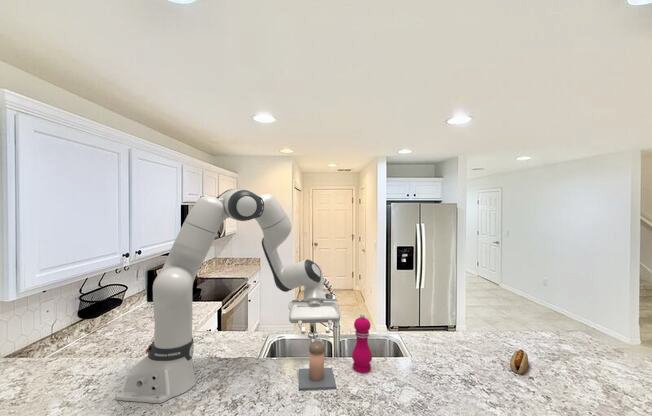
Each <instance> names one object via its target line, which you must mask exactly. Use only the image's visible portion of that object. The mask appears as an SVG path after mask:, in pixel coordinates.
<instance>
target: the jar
mask: <svg viewBox="0 0 652 416" xmlns="http://www.w3.org/2000/svg"><path fill="white" fill-rule="evenodd" d="M325 350H326V345H325V343H324V342H322V341H319V340H317V341H316V340H315V341H311V342H310V343H308V352H309V357H308V358H309V359H308V361H309V362H308V364H309V365H308V367H309V379H310V380H312V381H321V380H322V379H323V378H324V368H325V352H326V351H325Z"/></svg>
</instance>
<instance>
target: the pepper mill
mask: <svg viewBox="0 0 652 416" xmlns="http://www.w3.org/2000/svg"><path fill="white" fill-rule="evenodd" d="M370 322H371V321H370V320H369V319H368V318H367V317H366V316H365V314H364V313H360V315H359V317H357V318H356V319H355V320H354V324H353V327H354V329H355V331H354V332H355V334H354V335H355V337H356V342H355V343H356V344H355V347H354V348H353V350H352V355H351V358H352V361H353V367H352V368H353V370H354V371H355V372H357V373H360V374H365V373H366V374H367V373H369V372H370V371H371V361H372V360H373V355H372V351H371V349H370V347H369V343H368V342H369V341H368V339H369V337H370V331H369V330H370V329H371V323H370Z"/></svg>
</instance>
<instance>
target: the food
mask: <svg viewBox="0 0 652 416" xmlns="http://www.w3.org/2000/svg"><path fill="white" fill-rule="evenodd" d="M529 364H530V363H529V356H528V353H527V352H526V351H524V350H523V349H518V350H517V349H516V350H515V351H514V353H513V354H512V355H511V359H510V360H509V367H510V369H511V371H513V372H514V373H515V374H521V375H522V374H524V373H525V372H526V371H527V369H528V367H529Z"/></svg>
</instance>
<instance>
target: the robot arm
mask: <svg viewBox="0 0 652 416" xmlns="http://www.w3.org/2000/svg"><path fill="white" fill-rule="evenodd" d="M227 219H233V220H236V221H240V222H247V221H251V220H255V221H257V224H258V226H259V227H260V230H261V231H262V234H263V237H262V238H261V247H262V250H263V252H264V257H265V258H266V261H267V263H268V265H269V268H270V271H271V273H272V276H273V280H274V283H275V286H276V288H277V289H278V290H280V291H281V292H284V293H288V292H289V291H292V290H294V289H296V288H300V287H302V286H303V288H304V290H303V299H292V301H289V303H288V309H289V315H288V321H289V323H290V324H297V326H298V328H299V329H300V334H301V335H305V334H306V329H305V328H306V327H303V324H319V323H320V324H321V323H323V324H324V323H326V324H327V326H326V327H325V334H330V333H331V332H330V331H331V327H332V324H333V323H339V322H340V320H341V316H342V315H341V310H340V306H339V304H338V302H337V298H336V295H335V294H333V293H330V292H329V293H328V292H325V289H324V286H325V280H324V279H325V278H324V274H323V273H324V272H323V269H322V266H321V265H320V264H318V263H317V262H314V261H313V260H311V259H304V260H300V261H299V262H296V263H293V264H289V265H283V263H282V260H281V258H280V255H279V253H278V248H279V246H281V245H282V244H283V243H284V242H285V241H286V240H287V238H289V235H290V234H291V231H292V222H291V220H290V218H289V216H288V214H287V213H286V211H285V209H284V208H283V206H282V204H280V201H278V200H277V198H276V197H275V196H274V195H273V194H271V193H267V192H266V193H261V194H259V195H257V194H256V193H254V192H252V191H250V190H246V189H243V188H231V189H227V190H225V191H223V192H222V193H221V194H218V196H217V197H214V196H212V195H211V196H210V195H205V196H201V197H199V198H198V200H197V201H196V202H195V203H194V204H193V206H192V207H191V209H190V211H188V214H187V215H186V218H185V220H184V222H183V224H182V225H181V227H180V230H179V232H178V234H177V236H176V237H175V239H174V243H173V244H172V247H171V249H170V252H169V253H168V256H167V258H166V260H165V261H164V265H162V268H161V270H160V272H159V273H158V275H157V276H156V277H155V279H154V280H153V284H152V304H153V305H152V306H153V317H154V329H153V330H154V332H153V333H154V334H153V336H154V337H153V340H152V341H151V344H149V345H148V347H147V348H146V349H145V354H147V355H146V356H145V357H143V359H140V361H138V362H137V363H136V364H135V365H133V367H132V368H131V369H130V370H129V372H128V374H127V376H126V377H125V379H126V380H125V382H123V383H122V385H120V386H119V388H118V389H117V391H116V393H115V400H116V401H127V402H137V403H139V402H140V403H151V404H152V403H154V404H162V403H164V402H167V401H169V400H171V398H174V397H177V396H179V395H182V394H184V393H186V392H189V390H190V389H192V388H193V387H194V386H195V385H196V384H197V377H196V374H195V373H196V372H195V368H194V361H193V360H194V359H193V356H194V352H195V350H194V337H193V288H194V282H195V279H196V277H197V275H198V273H199V271H200V269H201V267H202V265H203V263H204V261H205V259H206V257H207V255H208V254H209V251H210V249H211V247H212V244H213V243H214V240H215V238H216V236H217V234H218V232H219V230H220V228H221V225H222V224H223V223H224V221H225V220H227Z"/></svg>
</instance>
